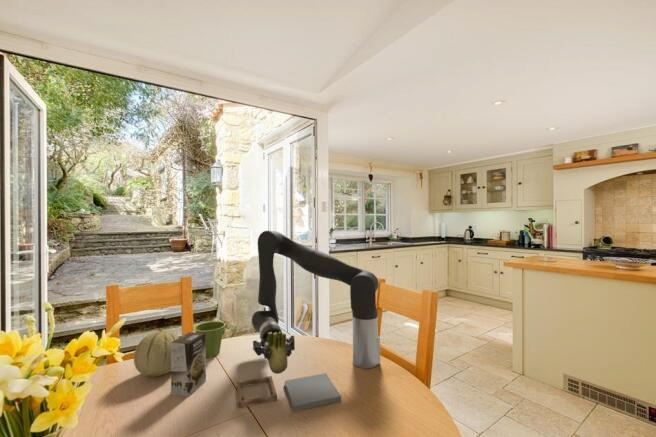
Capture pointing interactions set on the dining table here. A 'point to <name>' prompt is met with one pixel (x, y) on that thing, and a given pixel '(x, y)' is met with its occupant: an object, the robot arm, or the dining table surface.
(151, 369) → the cantaloupe
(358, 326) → the robot arm
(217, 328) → the plant pot
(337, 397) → the slate board
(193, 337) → the coffee box
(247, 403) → the walnut collar
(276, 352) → the fennel bulb
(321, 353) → the dining table surface
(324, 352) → the dining table surface
